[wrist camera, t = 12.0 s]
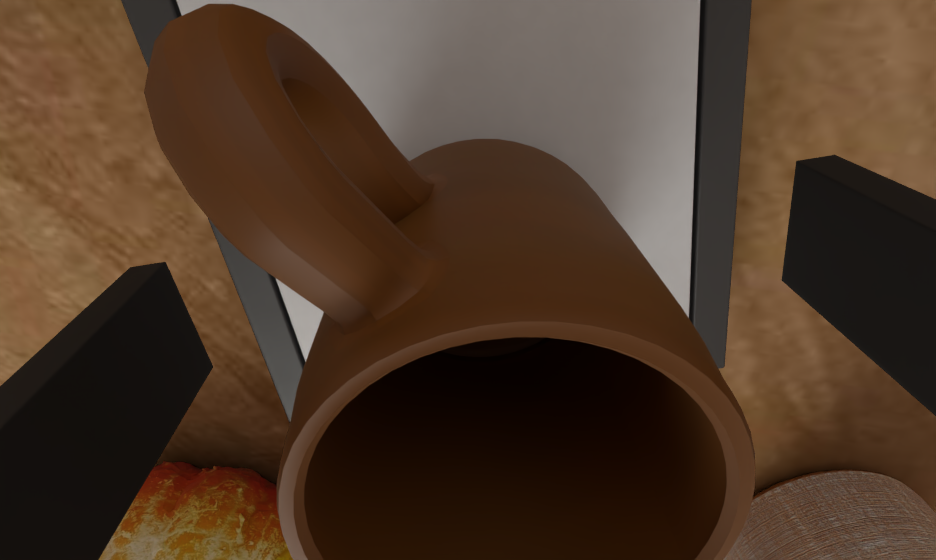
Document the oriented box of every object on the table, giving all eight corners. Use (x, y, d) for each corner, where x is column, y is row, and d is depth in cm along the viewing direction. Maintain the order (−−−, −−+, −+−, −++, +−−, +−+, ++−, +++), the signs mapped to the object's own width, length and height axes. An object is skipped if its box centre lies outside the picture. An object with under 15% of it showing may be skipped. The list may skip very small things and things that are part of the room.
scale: (139, -68, 16) (77, -79, 13) (720, -175, 15) (779, -208, 12) (305, 385, 23) (287, 438, 20) (698, 326, 22) (732, 373, 20)
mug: (185, 89, 14) (-170, 235, 6) (433, -102, 13) (415, -264, 4) (445, 396, 19) (447, 709, 11) (648, 288, 18) (833, 562, 9)
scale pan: (196, -10, 15) (171, -9, 13) (680, -96, 14) (705, -104, 13) (326, 373, 21) (318, 401, 19) (672, 322, 20) (689, 346, 19)
